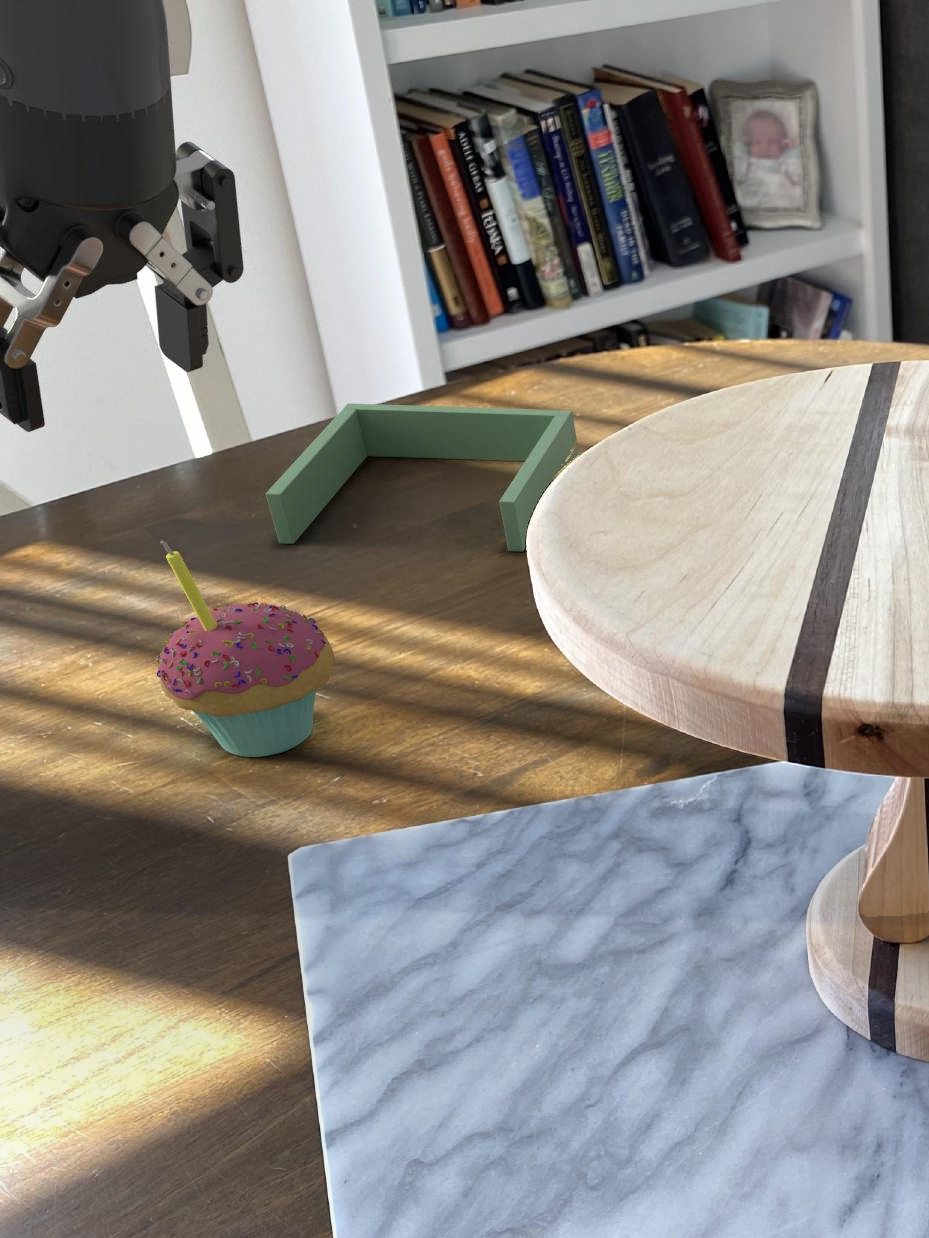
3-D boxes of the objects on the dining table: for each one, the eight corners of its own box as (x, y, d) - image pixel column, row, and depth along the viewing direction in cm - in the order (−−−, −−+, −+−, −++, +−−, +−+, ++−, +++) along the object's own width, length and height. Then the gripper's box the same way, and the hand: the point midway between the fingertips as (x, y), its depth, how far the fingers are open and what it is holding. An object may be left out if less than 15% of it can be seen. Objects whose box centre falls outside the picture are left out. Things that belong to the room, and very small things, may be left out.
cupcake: (214, 795, 87) (143, 586, 80) (160, 725, 92) (89, 522, 85) (375, 740, 91) (322, 537, 84) (315, 676, 97) (260, 479, 89)
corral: (523, 552, 109) (514, 501, 107) (278, 543, 109) (264, 493, 107) (579, 457, 121) (572, 410, 119) (358, 450, 121) (347, 403, 119)
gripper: (153, -17, 74) (177, 305, 86) (-171, 44, 64) (-95, 397, 76) (277, 69, 73) (283, 384, 84) (-35, 145, 63) (21, 488, 75)
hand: (104, 390), depth 80 cm, fingers open, 8 cm apart
